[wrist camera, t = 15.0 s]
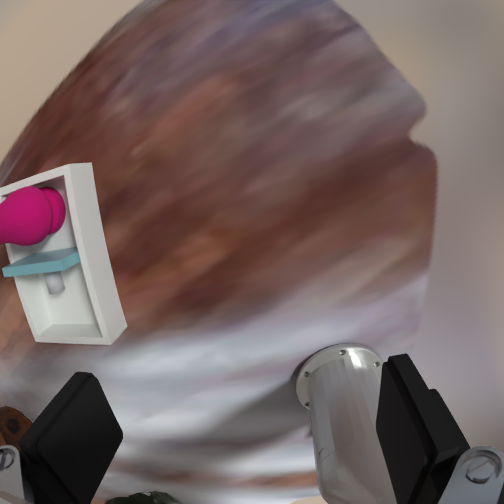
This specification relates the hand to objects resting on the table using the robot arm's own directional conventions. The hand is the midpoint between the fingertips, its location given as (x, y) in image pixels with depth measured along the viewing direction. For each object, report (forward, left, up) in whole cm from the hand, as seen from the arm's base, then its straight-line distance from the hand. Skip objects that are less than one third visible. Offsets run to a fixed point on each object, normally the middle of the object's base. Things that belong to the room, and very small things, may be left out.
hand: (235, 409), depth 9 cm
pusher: (-1, +27, -27) cm, 38 cm away
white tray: (0, +27, -28) cm, 39 cm away
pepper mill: (+6, +28, -28) cm, 39 cm away
